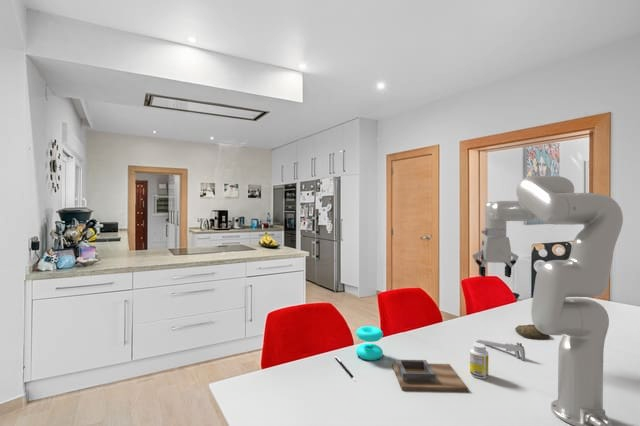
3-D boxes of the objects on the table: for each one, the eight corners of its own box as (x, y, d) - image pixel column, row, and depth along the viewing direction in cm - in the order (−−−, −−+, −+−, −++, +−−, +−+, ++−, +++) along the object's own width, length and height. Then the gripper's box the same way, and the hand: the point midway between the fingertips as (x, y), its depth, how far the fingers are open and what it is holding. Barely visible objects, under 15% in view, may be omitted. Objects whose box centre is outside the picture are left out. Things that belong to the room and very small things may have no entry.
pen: (336, 357, 127) (335, 354, 127) (356, 382, 108) (356, 378, 108) (333, 357, 126) (333, 354, 126) (354, 382, 108) (354, 379, 108)
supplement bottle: (482, 371, 116) (482, 341, 116) (491, 379, 110) (492, 348, 110) (466, 371, 115) (466, 342, 115) (475, 379, 110) (476, 348, 110)
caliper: (525, 361, 124) (525, 344, 124) (523, 361, 124) (523, 344, 124) (477, 341, 143) (477, 327, 143) (475, 342, 142) (475, 327, 142)
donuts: (388, 332, 125) (364, 335, 121) (387, 359, 125) (364, 363, 121) (374, 323, 134) (352, 326, 131) (374, 348, 134) (351, 352, 131)
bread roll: (521, 339, 146) (521, 327, 146) (512, 329, 158) (512, 318, 158) (555, 342, 143) (555, 330, 143) (543, 331, 155) (543, 321, 155)
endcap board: (467, 391, 102) (467, 379, 102) (401, 390, 103) (402, 378, 103) (449, 367, 118) (449, 356, 118) (392, 366, 119) (392, 355, 119)
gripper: (477, 233, 129) (476, 278, 129) (523, 234, 129) (522, 278, 129) (469, 232, 137) (469, 274, 137) (512, 232, 136) (512, 275, 136)
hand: (495, 276), depth 133 cm, fingers open, 9 cm apart
